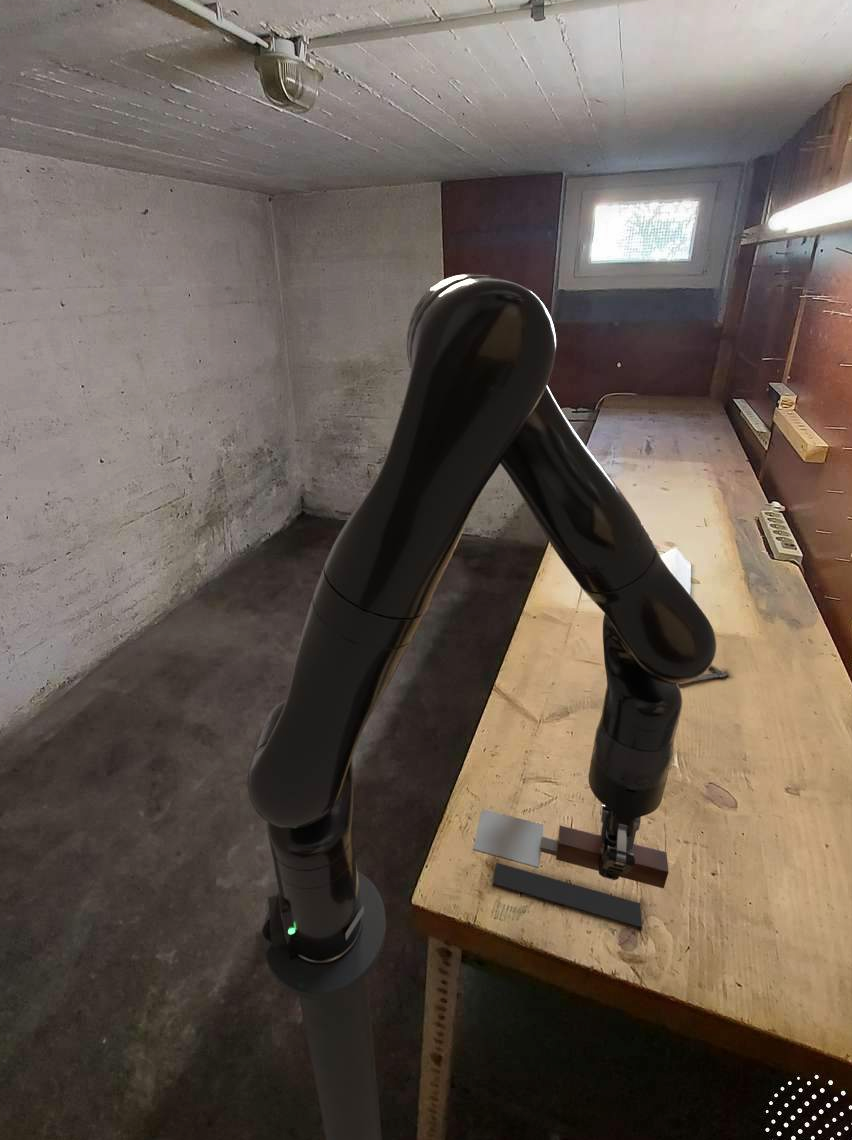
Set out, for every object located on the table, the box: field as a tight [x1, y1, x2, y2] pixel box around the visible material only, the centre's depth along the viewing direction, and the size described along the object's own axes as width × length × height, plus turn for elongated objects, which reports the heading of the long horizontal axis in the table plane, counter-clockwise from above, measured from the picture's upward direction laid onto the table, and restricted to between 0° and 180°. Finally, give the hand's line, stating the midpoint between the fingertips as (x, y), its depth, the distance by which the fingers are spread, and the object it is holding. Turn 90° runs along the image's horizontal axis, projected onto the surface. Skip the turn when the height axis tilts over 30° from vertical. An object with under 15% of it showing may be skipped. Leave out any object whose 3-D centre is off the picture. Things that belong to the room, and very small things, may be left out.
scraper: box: [472, 808, 669, 889], centre depth 68 cm, size 22×6×3 cm, turn 72°
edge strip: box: [492, 862, 643, 929], centre depth 72 cm, size 18×3×1 cm, turn 72°
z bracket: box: [659, 546, 692, 596], centre depth 139 cm, size 12×25×6 cm
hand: (608, 862), depth 67 cm, fingers closed on scraper, 2 cm apart
